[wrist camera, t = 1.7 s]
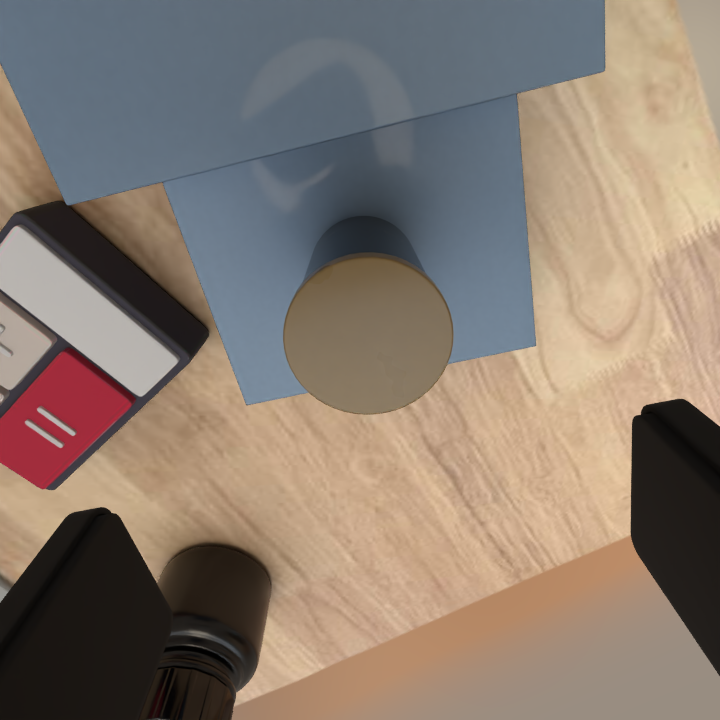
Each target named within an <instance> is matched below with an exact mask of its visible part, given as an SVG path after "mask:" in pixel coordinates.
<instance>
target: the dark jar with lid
mask: <svg viewBox="0 0 720 720" xmlns="http://www.w3.org/2000/svg"><path fill="white" fill-rule="evenodd" d="M453 337H454V331H453V322H452V317H451V313H450V310H449V308H448V305H447V303H446V301H445V299H444V297H443V295H442V294H441V292H440V290H439V288H438V287H437V286H436V284H435V283H434V282H433V281H432V279H431V278H430V277H429V276H428V275H427V274H426V272H425V270H424V268H423V267H422V265H421V263H420V261H419V259H418V257H417V255H416V253H415V251H414V249H413V247H412V245H411V243H410V242H409V240H408V238H407V237H406V236H405V234H404V233H403V232H402V231H401V230H400V229H399V228H397V227H396V226H395V225H393V224H392V223H390V222H388V221H386V220H383V219H381V218H377V217H373V216H355V217H350V218H347V219H344V220H342V221H340V222H338V223H336V224H334V225H333V226H331V227H330V228H329V229H328V230H327V231H326V232H325V233H324V234H323V235H322V236H321V238H320V239H319V240H318V242H317V244H316V246H315V248H314V250H313V253H312V256H311V259H310V262H309V265H308V268H307V271H306V274H305V277H304V280H303V282H302V284H301V285H300V287H299V288H298V290H297V291H296V293H295V295H294V297H293V299H292V301H291V303H290V305H289V308H288V311H287V314H286V317H285V322H284V327H283V344H284V351H285V355H286V359H287V361H288V364H289V366H290V369H291V370H292V372H293V374H294V376H295V377H296V379H297V380H298V381H299V383H300V384H301V385H302V386H303V387H304V388H305V389H306V390H307V391H308V392H309V393H310V394H311V395H312V396H314V397H315V398H316V399H318V400H319V401H321V402H323V403H324V404H326V405H328V406H330V407H333V408H335V409H338V410H341V411H344V412H349V413H354V414H380V413H386V412H390V411H394V410H397V409H400V408H402V407H405V406H407V405H409V404H411V403H412V402H414V401H416V400H417V399H419V398H420V397H422V396H423V395H424V394H425V393H426V392H428V391H429V390H430V389H431V388H432V387H433V385H434V384H435V383H436V382H437V381H438V379H439V378H440V376H441V375H442V373H443V372H444V370H445V368H446V366H447V364H448V361H449V358H450V356H451V352H452V347H453Z"/></svg>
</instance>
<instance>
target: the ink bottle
mask: <svg viewBox="0 0 720 720" xmlns="http://www.w3.org/2000/svg"><path fill="white" fill-rule="evenodd" d="M157 585H158V586H159V588H160V590H161V592H162V594H163V595H164V597H165V599H166V601H167V603H168V604H169V606H170V608H171V610H172V614H173V627H172V631H171V634H170V636H169V639H168V642H167V644H166V647H165V650H164V652H163V655H162V658H161V660H160V663H159V666H158V668H157V671H156V673H155V676H154V679H153V681H152V684H151V687H150V689H149V692H148V695H147V697H146V700H145V703H144V705H143V708H142V711H141V713H140V716H139V719H138V720H231V718H232V713H233V706H234V703H235V699H236V692H238V691H239V690H240V689H242V688H243V687H244V686H245V685H246V684H247V683H248V682H249V681H250V679H251V678H252V677H253V675H254V673H255V671H256V668H257V665H258V662H259V657H260V652H261V646H262V641H263V635H264V630H265V624H266V619H267V613H268V608H269V602H270V596H271V584H270V580H269V578H268V576H267V574H266V573H265V571H264V570H263V569H262V568H261V567H260V566H259V565H258V564H257V563H256V562H255V561H253V560H252V559H250V558H249V557H247V556H245V555H243V554H241V553H239V552H236V551H234V550H231V549H227V548H223V547H216V546H203V547H197V548H193V549H190V550H187V551H185V552H183V553H181V554H179V555H178V556H176V557H175V558H174V559H172V560H171V561H170V562H169V563H168V564H167V566H166V567H165V569H164V570H163V572H162V574H161V576H160V579H159V581H158V583H157Z"/></svg>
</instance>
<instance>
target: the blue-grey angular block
mask: <svg viewBox="0 0 720 720" xmlns="http://www.w3.org/2000/svg"><path fill="white" fill-rule="evenodd" d="M0 64H1V66H2V68H3V70H4V72H5V74H6V76H7V79H8V81H9V83H10V85H11V87H12V89H13V91H14V94H15V96H16V98H17V100H18V102H19V104H20V106H21V109H22V111H23V113H24V115H25V117H26V119H27V121H28V124H29V126H30V128H31V130H32V132H33V134H34V136H35V139H36V141H37V143H38V145H39V147H40V149H41V151H42V154H43V156H44V158H45V160H46V162H47V164H48V167H49V169H50V171H51V173H52V175H53V177H54V179H55V182H56V184H57V186H58V188H59V190H60V192H61V194H62V197H63V199H64V201H65V203H66V204H67V205H73V204H77V203H81V202H85V201H89V200H93V199H97V198H101V197H105V196H109V195H113V194H117V193H121V192H125V191H129V190H133V189H137V188H141V187H145V186H149V185H153V184H157V183H161V182H163V186H164V188H165V191H166V194H167V196H168V199H169V202H170V204H171V207H172V209H173V212H174V215H175V217H176V220H177V223H178V225H179V228H180V231H181V233H182V236H183V239H184V241H185V244H186V247H187V249H188V252H189V254H190V257H191V260H192V262H193V265H194V268H195V270H196V273H197V276H198V278H199V281H200V284H201V286H202V289H203V292H204V294H205V297H206V299H207V302H208V305H209V307H210V310H211V313H212V315H213V318H214V321H215V323H216V326H217V329H218V331H219V334H220V337H221V339H222V342H223V344H224V347H225V350H226V352H227V355H228V358H229V360H230V363H231V366H232V368H233V371H234V374H235V376H236V379H237V382H238V384H239V387H240V390H241V392H242V395H243V397H244V400H245V403H246V405H251V404H256V403H261V402H265V401H270V400H275V399H280V398H285V397H290V396H295V395H299V394H304V393H309V392H308V391H307V390H306V389H305V388H304V387H303V386H302V385H301V384H300V383H299V381H298V380H297V379H296V377H295V376H294V374H293V372H292V370H291V369H290V366H289V364H288V361H287V359H286V355H285V351H284V344H283V327H284V322H285V317H286V314H287V311H288V308H289V305H290V303H291V301H292V299H293V297H294V295H295V293H296V291H297V290H298V288H299V287H300V285H301V284H302V282H303V280H304V277H305V274H306V271H307V268H308V265H309V262H310V259H311V256H312V253H313V250H314V248H315V246H316V244H317V242H318V240H319V239H320V238H321V236H322V235H323V234H324V233H325V232H326V231H327V230H328V229H329V228H330V227H331V226H333V225H334V224H336V223H338V222H340V221H342V220H344V219H347V218H350V217H355V216H373V217H377V218H381V219H383V220H386V221H388V222H390V223H392V224H393V225H395V226H396V227H397V228H399V229H400V230H401V231H402V232H403V233H404V234H405V236H406V237H407V238H408V240H409V242H410V243H411V245H412V247H413V249H414V251H415V253H416V255H417V257H418V259H419V261H420V263H421V265H422V267H423V268H424V270H425V272H426V274H427V275H428V276H429V277H430V278H431V279H432V281H433V282H434V283H435V284H436V286H437V287H438V288H439V290H440V292H441V294H442V295H443V297H444V299H445V301H446V303H447V305H448V308H449V310H450V313H451V317H452V322H453V331H454V337H453V347H452V352H451V356H450V358H449V361H448V364H450V363H455V362H460V361H465V360H470V359H475V358H480V357H484V356H489V355H494V354H499V353H504V352H509V351H514V350H518V349H523V348H528V347H533V346H536V337H535V324H534V311H533V298H532V285H531V272H530V259H529V246H528V233H527V220H526V207H525V194H524V181H523V168H522V155H521V142H520V129H519V116H518V103H517V93H521V92H525V91H529V90H533V89H537V88H541V87H545V86H549V85H553V84H557V83H561V82H565V81H569V80H573V79H577V78H581V77H585V76H589V75H593V74H597V73H601V72H603V71H605V0H0Z"/></svg>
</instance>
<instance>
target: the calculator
mask: <svg viewBox="0 0 720 720" xmlns="http://www.w3.org/2000/svg"><path fill="white" fill-rule="evenodd" d="M208 336H209V332H208V330H207V329H206V328H205V327H204V326H203V325H202V324H201V323H199V322H198V321H197V320H196V319H195V318H194V317H193V316H191V315H190V314H189V313H188V312H187V311H186V310H185V309H184V308H182V307H181V306H180V305H179V304H178V303H177V302H176V301H175V300H173V299H172V298H171V297H170V296H169V295H168V294H167V293H165V292H164V291H163V290H162V289H161V288H160V287H159V286H158V285H156V284H155V283H154V282H153V281H152V280H151V279H150V278H148V277H147V276H146V275H145V274H144V273H143V272H142V271H141V270H139V269H138V268H137V267H136V266H135V265H134V264H133V263H132V262H130V261H129V260H128V259H127V258H126V257H125V256H124V255H122V254H121V253H120V252H119V251H118V250H117V249H116V248H115V247H113V246H112V245H111V244H110V243H109V242H108V241H107V240H106V239H104V238H103V237H102V236H101V235H100V234H99V233H98V232H96V231H95V230H94V229H93V228H92V227H91V226H90V225H89V224H87V223H86V222H85V221H84V220H83V219H82V218H81V217H79V216H78V215H77V214H76V213H75V212H74V211H73V210H72V209H70V208H69V207H68V206H67V205H66V204H64V203H63V202H61V201H55V202H51V203H47V204H44V205H40V206H37V207H33V208H29V209H26V210H22V211H19V212H16V213H15V214H14V215H13V216H12V217H11V218H10V220H9V221H8V222H7V224H6V225H5V226H4V228H3V229H2V230H1V232H0V463H2V464H4V465H5V466H7V467H8V468H10V469H11V470H13V471H14V472H16V473H17V474H19V475H20V476H22V477H23V478H25V479H26V480H28V481H30V482H31V483H33V484H34V485H36V486H37V487H39V488H41V489H48V490H55V489H56V488H57V487H58V486H60V485H61V484H62V483H63V482H64V481H65V480H66V479H67V478H68V477H69V476H70V475H71V474H72V473H73V472H74V471H75V470H76V469H77V468H79V467H80V466H81V465H82V464H83V463H84V462H85V461H86V460H87V459H88V458H89V457H90V456H91V455H92V454H93V453H94V452H95V451H97V450H98V449H99V448H100V447H101V446H102V445H103V444H104V443H105V442H106V441H107V440H108V439H109V438H110V437H111V436H112V435H113V434H115V433H116V432H117V431H118V430H119V429H120V428H121V427H122V426H123V425H124V424H125V423H126V422H127V421H128V420H129V419H130V418H131V417H132V416H134V415H135V414H136V413H137V412H138V411H139V410H140V409H141V408H142V407H143V406H144V405H145V404H146V403H147V402H148V401H149V400H150V399H152V398H153V397H154V396H155V395H156V394H157V393H158V392H159V391H160V390H161V389H162V388H163V387H164V386H165V385H166V384H167V383H168V382H170V381H171V380H172V379H173V378H174V377H175V376H176V375H177V374H178V373H179V372H180V371H181V370H182V369H183V368H184V367H185V366H186V365H187V364H188V363H189V362H190V361H191V360H192V359H193V357H194V356H195V355H196V353H197V352H198V350H199V349H200V348H201V346H202V345H203V344H204V342H205V341H206V340H207V338H208Z"/></svg>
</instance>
